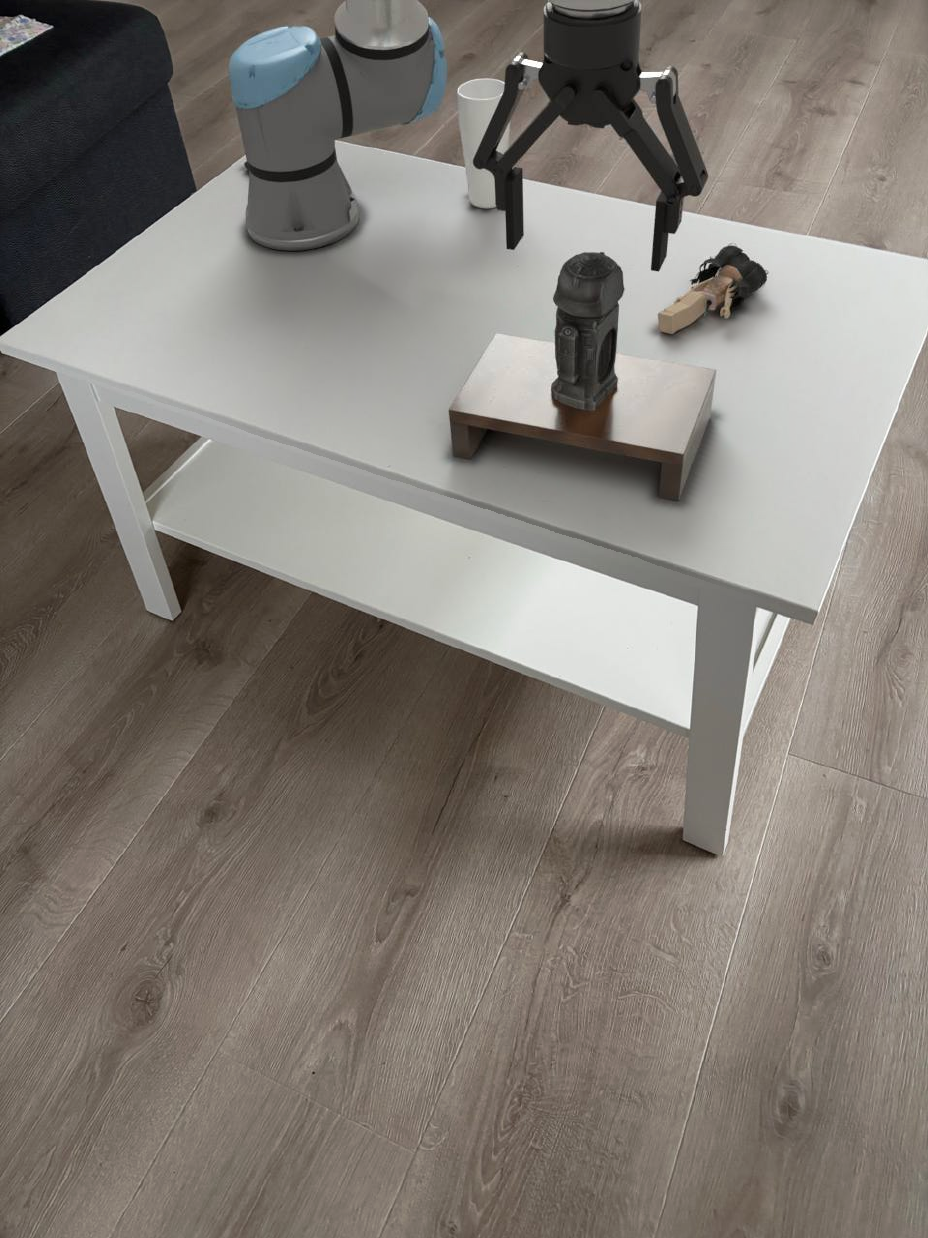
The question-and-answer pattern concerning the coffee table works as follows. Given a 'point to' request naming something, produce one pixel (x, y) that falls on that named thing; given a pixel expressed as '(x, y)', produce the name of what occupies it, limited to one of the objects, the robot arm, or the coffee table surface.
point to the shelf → (623, 423)
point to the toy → (586, 329)
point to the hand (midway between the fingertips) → (585, 252)
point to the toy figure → (715, 289)
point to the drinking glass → (479, 134)
